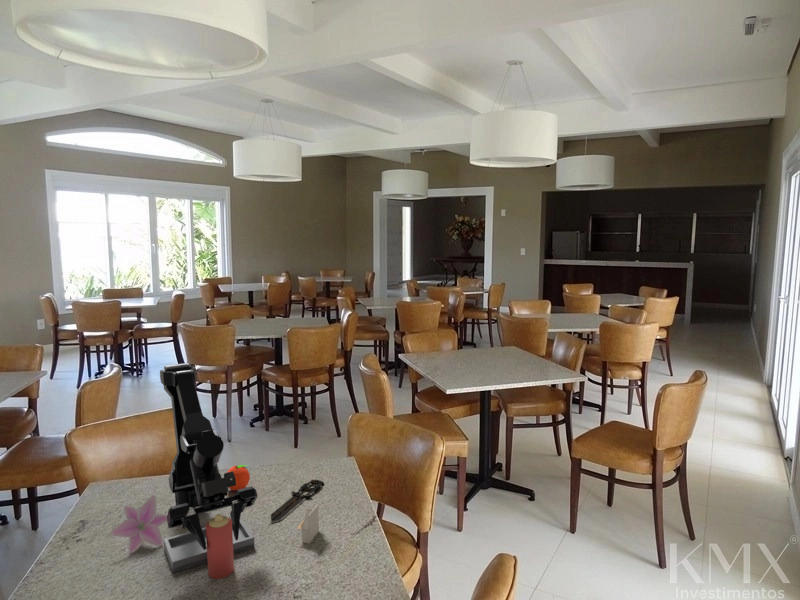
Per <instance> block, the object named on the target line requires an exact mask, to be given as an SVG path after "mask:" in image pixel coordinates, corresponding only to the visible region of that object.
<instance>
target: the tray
mask: <svg viewBox="0 0 800 600" xmlns="http://www.w3.org/2000/svg"><path fill="white" fill-rule="evenodd" d="M201 528H202V532H203V535H204V538H205V542H206V526H205V527H201ZM232 535H233V555H235V554H238V553H242V552H244V551H247V550H251V549H254V548H255V537H254V535H253V534H252V532H251V531H250V529H249V528H248V527H247V525H246V524H245V522H244V521H243V519H242V518H241V517H240V523H239V535H238V540H237V541H236V540H235V537H234V534H233V528H232ZM206 547H207V542H206ZM163 549H164V552H165V555H166V557H167V560H168V564H169V565H170V568H171V571H172V574H175V573H177V572H181V571H184V570H187V569H191V568H193V567H197V566H200V565H203V564H206V563H207V564H208V561H207V548H206V550H204V549H203V548H202V546H201V545H200V544H199V542H198V541H197V539H196V538H195V537H194V535H193V534H192V533H191V532H190V531H187V532H184V533H181V534H177V535H173V536H170V537H166V538H163Z"/></svg>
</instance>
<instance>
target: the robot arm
mask: <svg viewBox="0 0 800 600" xmlns="http://www.w3.org/2000/svg"><path fill="white" fill-rule="evenodd" d="M159 378H160V383H161V385H163V390H164V391H165V392H166V394H168V396H169V397H170V399H171V407H172V408H171V409H172V417H173V425H174V426H173V428H174V435H175V436H174V437H175V445H176V454H175V456H174V458H173V460H172V462H171V470H170V473H169V475H168V484H169V485H168V486H169V489H170V491H171V493H172V494H174V497H175V505H173V506H170V507H169V509H168V510H167V511H168V512H167V514H166V515H167V521H166V523H167V527H168V529H172V528H176V527H180V526H181V529H182V530H183V529H187V530H188V532H191V533H192V534H193V535H194V537H195V538H196V539H197V541H198V542H199V544H200V545H201V546H202V548H203V549H204V550H206V548H207V547H206V542H205V538H204V535H203V532H202V528H203V527H202V525H201V524H200V523H201V522H200V516H199V515H201V514H205V513H209V512H213V511H217V510H221V509H224V508H228V507H231V511H230V515H229V517H230V519H231V520H232V528H233V534H234V537H235V540H236V541H237V540H238V535H239V523H240V518H241V514H242V513H243V512H245V509H246V508H249V507H252V506H253V505H254V504H255V502H256V500H257V499H258V496H259V495H258V493H257V489H256V488H255V487H254V486H249V487H248V486H246V487H245V488H243V489H239V490H237V491H236V492H235V494H234V495H233V496H229V497H226V496H228V493H229V490H230V489H229V488H228V487H232V486H235V485H236V479H235V475H234V471H232V472H228V471H227V472H228V473H227V472H225V473H224V474H223V477H222V474H221V473H220V470H219V466H218V463H219V462H220V460H221V457H222V454H223V451H224V441H223V440H222V436H220V434H218V433H217V431H216V430H215V429H214V428H213V426H212V423H211V420H210V419H208V418H207V417H206V416H204V415H203V412H202V407H201V402H200V400H199V396H198V391H197V387H196V384H195V383H196V382H197V368H196V367H195V366H190V363H189V362H183V363H177V364H167V365H164V366H163V369H160V371H159Z"/></svg>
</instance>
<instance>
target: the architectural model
mask: <svg viewBox="0 0 800 600" xmlns="http://www.w3.org/2000/svg"><path fill="white" fill-rule="evenodd" d="M319 519H320V516H319V504H316V505H315V506H314V507H312V508H311V507H307V509H306V512H305V515H304V519H303V520H301V522H300V524H299V525H297V527H296V528H295V531H301V543H303V544H310V543H311V542H312V541H313V540H314V538H315V537H316V536H317V534H319V532H320V525H319V524H320V522H319Z"/></svg>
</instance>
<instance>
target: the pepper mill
mask: <svg viewBox="0 0 800 600" xmlns="http://www.w3.org/2000/svg"><path fill="white" fill-rule="evenodd" d="M205 527H206V542H207V561H208V562H207V575H208V577H209V578H211V579H223V578H227V577H228V576H230V575H231V574H233V572H234V570H235V561H234V560H235V558H234V556H235V555H234V554H233V535H232V520H231V517H230V518H229V517H228V516H226V515H225V516H224V515H222V514H221V513H217V514H216V515H214V517H212V518H210V519H209V520H208V521H206V523H205Z"/></svg>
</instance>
